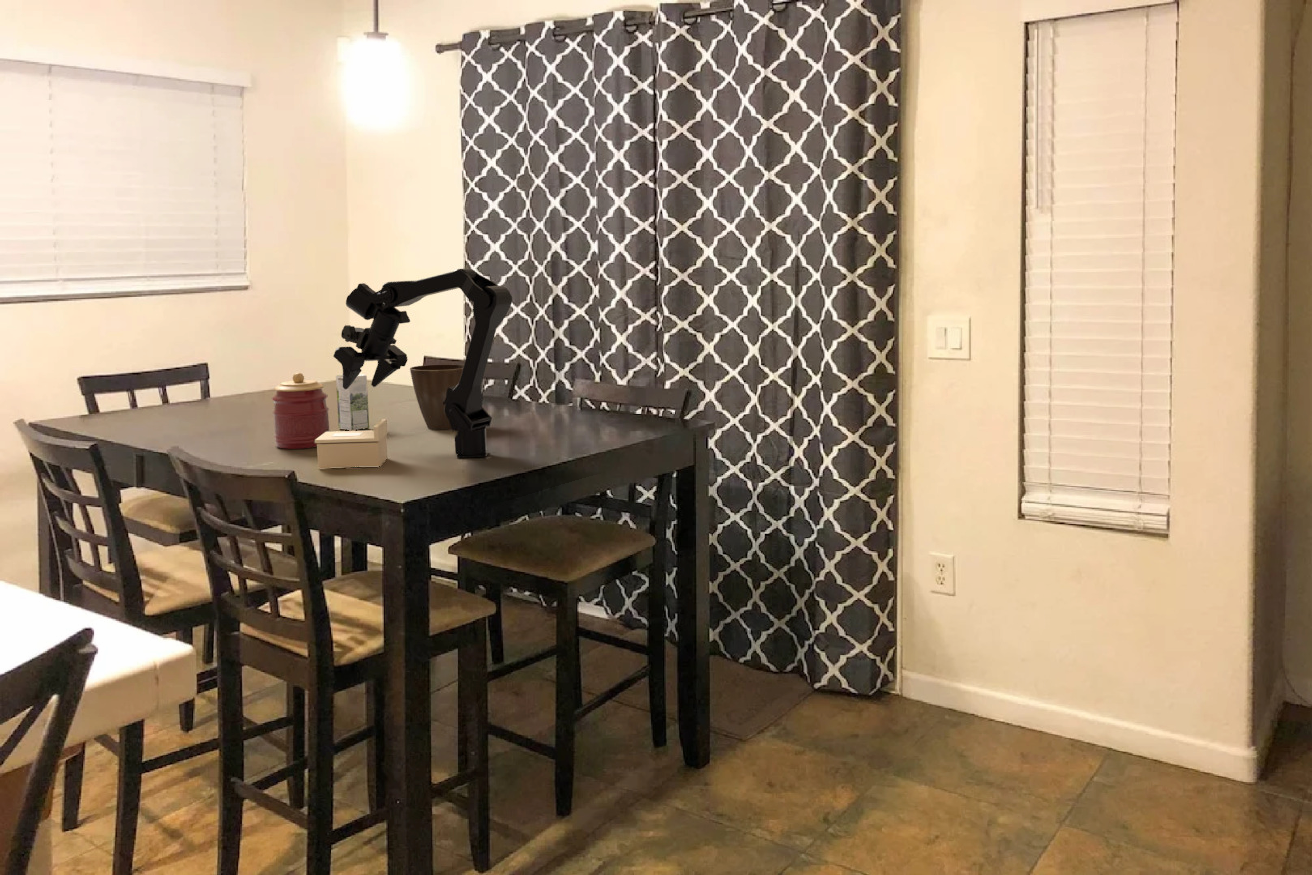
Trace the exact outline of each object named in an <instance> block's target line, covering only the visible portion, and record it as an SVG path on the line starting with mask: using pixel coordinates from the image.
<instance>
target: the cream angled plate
mask: <svg viewBox="0 0 1312 875" xmlns="http://www.w3.org/2000/svg"><path fill="white" fill-rule="evenodd" d="M372 429H373V430H372ZM372 429H370V430H369V429H366V430H357V431H345V430H339V431H337V430H336V431H330V432H325V433H324V434H322V435H321V436H319V437H318V438H317V439H315V443H339V442H372V441H380V440H381V439H382V438H383V437H384V436H385V435H386V436H387V434H388V433H389V431H388V419H387V418H382V419H380V420H379V421H378V422H377V423H376V424H375V425H374V426H373V428H372Z"/></svg>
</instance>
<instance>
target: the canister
mask: <svg viewBox="0 0 1312 875" xmlns="http://www.w3.org/2000/svg"><path fill="white" fill-rule="evenodd" d="M323 388H324V384H321V383H320V382H318V381H317V380H311V379H310V380H309V379H306V380H305V376H304V374H303V373H301V372H295V373H294V374H293V375H292V380H289V381H288V380H287V381H283V382H281V383H279V385H277V386H276V387H274V391H276V393H275V395H273V396H272V397H271V401H273V403H274V405H273V406H274V408H273V409H274V410H273V411H272V414H273V424H274V442H275V446H276V447H277V448H280V449H286V450H287V449H289V450H298V449H312V448H311V447H313V448H317V447H316V446H317V444H318V443H315V439H317V438H318V437H319V436H321V435H322V434H324V433H325V432H331V431H330V421H329V420H330V419H329V418H330V417H329V410H330V409H329V407H327V398H328V394H327V393H326V392H324V391H323Z"/></svg>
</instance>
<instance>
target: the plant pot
mask: <svg viewBox="0 0 1312 875" xmlns="http://www.w3.org/2000/svg"><path fill="white" fill-rule="evenodd" d="M463 367H464V364H456V363H455V364H452V363H451V364H450V363H447V364H446V363H444V364H443V363H442V364H440V363H439V364H425V365H423V364H422V365H416V366H412V367H410V368H409V372H410V376H411V381H412V385H413V389H414V394H415V398H416V401H417V403H418V408H419V410H420V413H421V415H422V419H423V420H424V423H425V425H426V427H427V429H429V430H450V429H451V430H452V428H451V425H450V422H449V419H448V418H447V416H446V414H445V413H444V407H445V405H443V402H444V401H445V399H446V393H447V389H448V388H449V387H454V386H457V385H458V383H459V381H460V378H461V374H462V370H463Z"/></svg>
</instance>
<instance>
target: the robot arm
mask: <svg viewBox="0 0 1312 875" xmlns="http://www.w3.org/2000/svg"><path fill="white" fill-rule="evenodd" d="M456 289H460V290H461V291H462V293H463V294H464V296H465V297H466V298H467V299H468V300H469V301H471V302H472V303H473V304H472V313H473V318H474V327H473V330H472V334H471V339H470V341H469V345H468V349H467V353H466V356H465V359H464V364H463V365H464V367H463V370H462V374H461V378H460V381H459V383H458V385H457V386H454V387H449V388H448V389H447V393H446V399H445V401H444V402H443V405H445V407H444V413H445V414H446V416H447V418H448V419H449V422H450V425H451V430H452V431H453V432H456V434H455V436H454V448H455V450H454V452H455V453H454V454H455V455H456V458H457V459H460V458H463V459H464V458H485V457H486V458H487V455H488V453H489V450H488V444H487V443H488V441H487V427H490V426H491V424H492V421H493V420H492V419H493V418H492V415H490V414H489V413H488V411H486V409H485V408H484V407H483V399H484V397H483V393H482V388H481V386H482V381H483V379H484V375H485V371H486V367H487V364H488V360H489V356H490V352H491V351H492V346H493V342H494V339H495V335H496V331H497V328H498V327H499V326H500V324H501V323H502V322H503V320H504V319H505V318H506V316H507V314H508V313H509V312H508V311H510V308H511V307H512V306H511V305H512V303H513V296H512V294H511V292H510V290H509V289H508V288H507V287H506V286H504V285H499V284H498V283H495V282H494V281H492V280H491V279H489V278H487V277H484V276H482V275H481V274H480V273H478V272H477V271H476V270H474V269H472V268H458V269H456V270H454V271H449V272H446V273H445V272H444V273H442V274H437V275H434V276H430V277H426V278H420V279H418V280H398V281H387V282H385V283H383V285H382V287H381V289H379V290H378V291H375V290H374V289H372V288H371V287H370V286H369V285H368V284H366V283H363V282H362V283H358V285H357V287H356V288H354V289H353V290H351V292H350V293H349V295H347V296H346V301H345V305H346V307H347V308H348V309H350V310H351V311H353V312H354V313H355V314H357V315H358V316H360V317H361V318H363V319H364V320H365V321H370V320H372V322H371V325H370V327H364V328H362V327H355V326H354V325H347V324H345V325H344V326H343V327H342V330H341V338H342V339H343V340H344V341H345V342H346V343H349V342H350V343H353V344H355V347H356V348H357V349H358V350H360V352H358V351H357V350H356V349H354V348H353V347H352V346H339V347H336V349H335V351H334V352H333V353H334V354H333V356H332V357H333V358H335V359H336V361H337V362H339V363H340V364H341V368H342V375H343V388H344V389H348V387H349V386H350V385H351V384H352V383H353V381H354V380H355V379H356V377H357V376H358V375H359V374H361V372H362V371H363V370H362V369H361V368H363V367H364V365H365V362H375V361H376V362H377V365H376V369H375V371H374V374H373V377H372V380H371V384H370V385H371V386H372V387H373V388H376V387H377V386H378V385H380V383H382V382H383V381H384V380H385V379H387V378H388V377H389V376H391V375H392V374H393V373H395V372H396V371H397V370H400V369H401V367H405V366H406V364H407V362H408V360H409V359H408V356H407V353H405V352H404V351H403V350H401V349H400V348H399V347H398V346H396V343H397V339H395V335H396V333H397V331H398V328H399V326H400V324H407V323H408V324H409V323H410V322H411V320H410V317H409V315H408V312H407V311H406V310H403V311H402V310H399V309H398V308H397V307H409V306H411V305H414V304H415V303H417V302H419V301H421V300H422V299H423V298H426V297H427V296H431V295H435V294H440V293H444V292H448V291H452V290H456Z"/></svg>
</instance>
